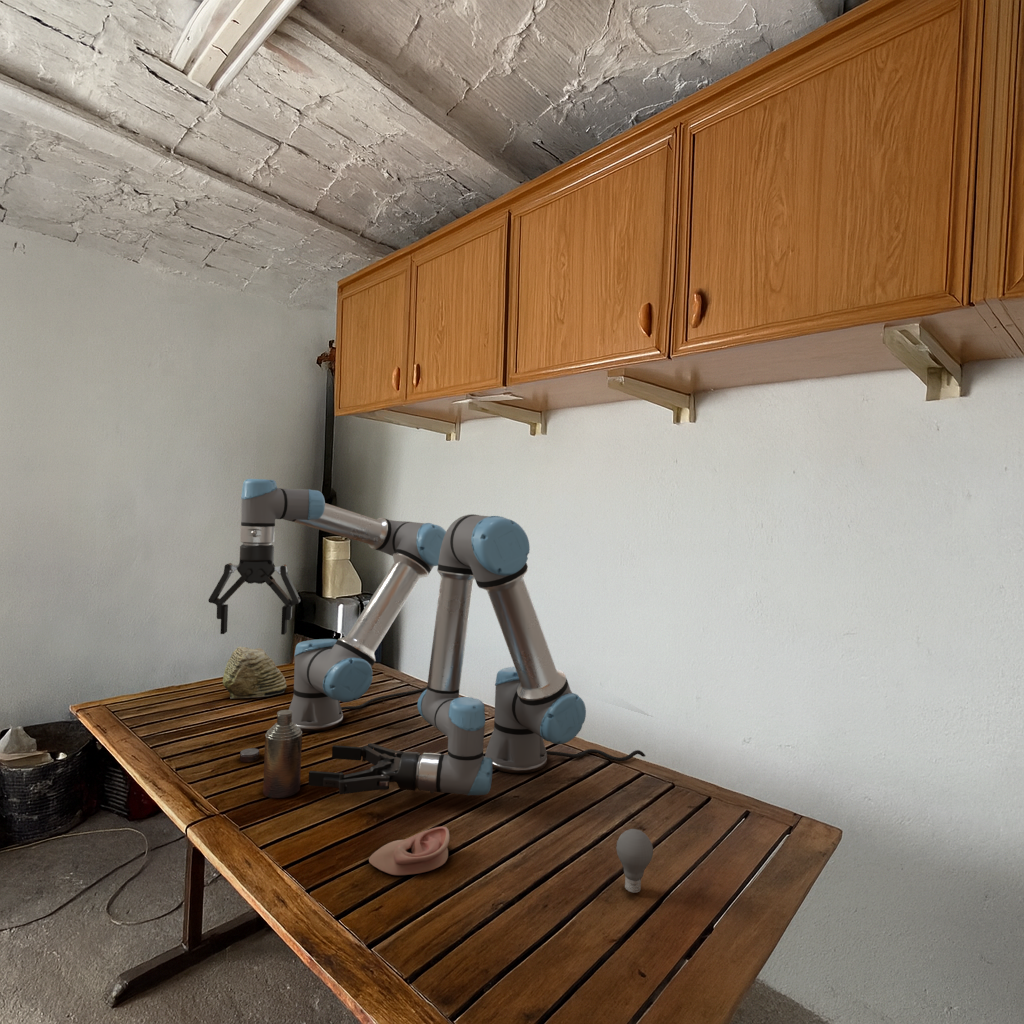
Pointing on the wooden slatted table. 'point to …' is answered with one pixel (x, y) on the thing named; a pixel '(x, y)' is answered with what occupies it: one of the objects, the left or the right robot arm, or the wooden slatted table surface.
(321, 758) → the wooden slatted table surface
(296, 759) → the bottle
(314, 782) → the right robot arm
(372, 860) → the anatomical model
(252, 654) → the fossil
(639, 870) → the light bulb
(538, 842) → the wooden slatted table surface
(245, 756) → the cap
